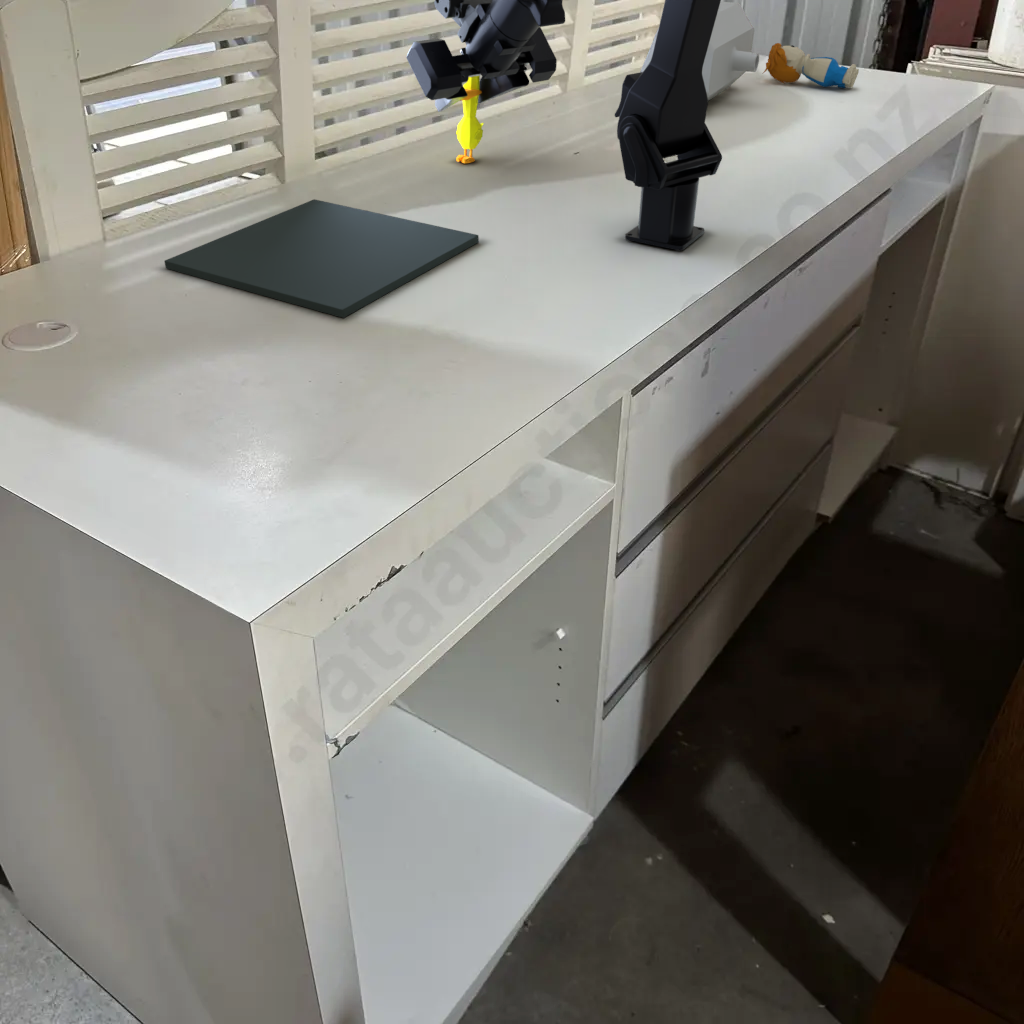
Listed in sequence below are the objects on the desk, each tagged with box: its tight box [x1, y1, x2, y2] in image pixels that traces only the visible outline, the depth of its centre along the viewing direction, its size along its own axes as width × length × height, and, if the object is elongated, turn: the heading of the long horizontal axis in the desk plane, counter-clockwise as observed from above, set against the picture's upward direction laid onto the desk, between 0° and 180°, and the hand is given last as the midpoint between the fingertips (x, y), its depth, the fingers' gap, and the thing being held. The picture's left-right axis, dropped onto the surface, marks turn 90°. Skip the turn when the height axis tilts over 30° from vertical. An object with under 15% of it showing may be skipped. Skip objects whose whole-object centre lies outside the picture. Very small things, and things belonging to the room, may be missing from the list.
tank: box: [639, 1, 760, 102], centre depth 147 cm, size 25×16×12 cm, turn 153°
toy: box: [762, 42, 860, 89], centre depth 158 cm, size 12×6×15 cm
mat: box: [164, 198, 480, 319], centre depth 95 cm, size 22×22×1 cm
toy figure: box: [455, 75, 484, 164], centre depth 119 cm, size 7×4×12 cm, turn 138°
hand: (456, 104), depth 119 cm, fingers closed on toy figure, 5 cm apart
